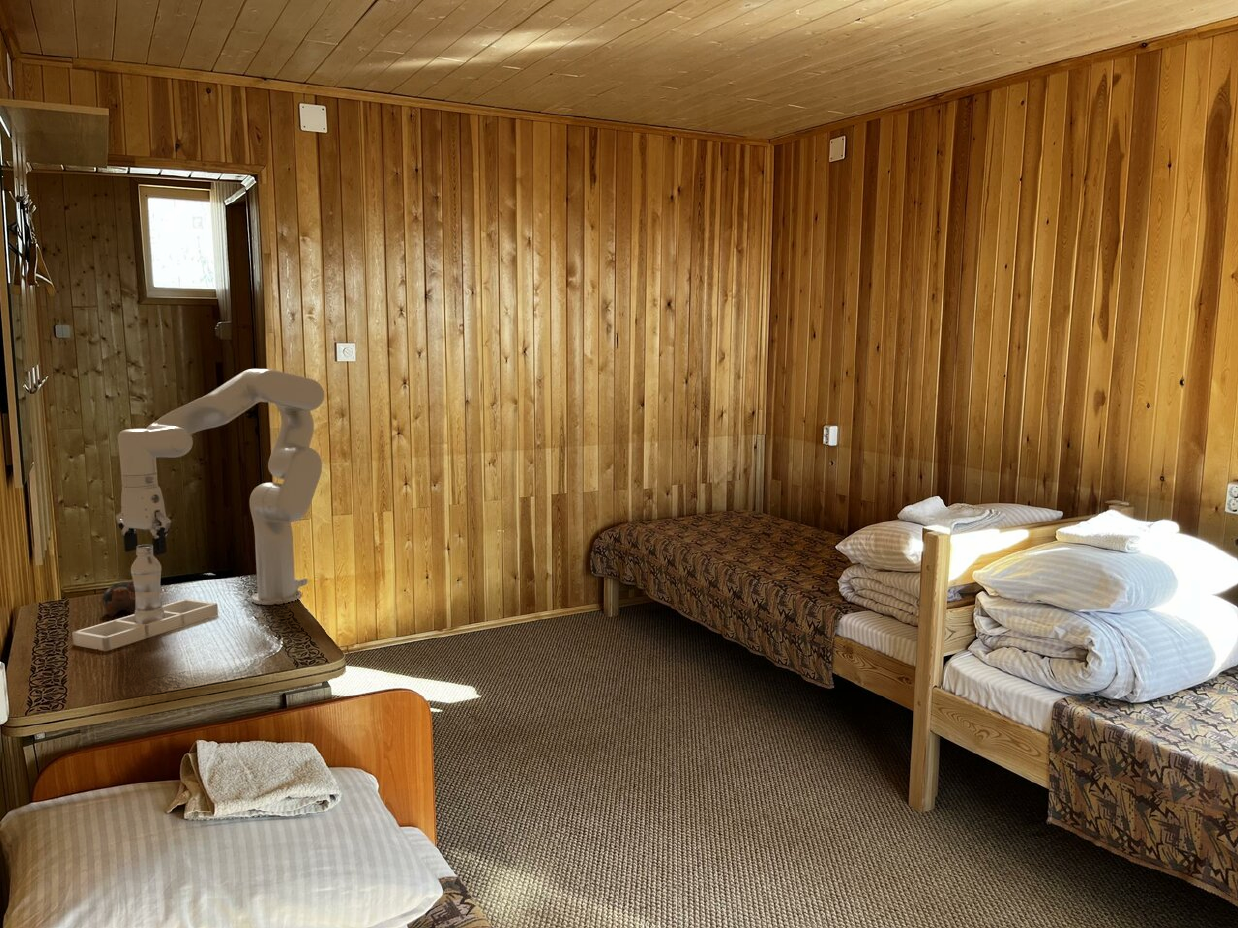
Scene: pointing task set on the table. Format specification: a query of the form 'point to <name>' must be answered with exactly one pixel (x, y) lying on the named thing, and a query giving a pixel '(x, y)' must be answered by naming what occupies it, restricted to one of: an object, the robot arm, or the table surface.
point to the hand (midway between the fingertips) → (145, 552)
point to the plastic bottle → (147, 586)
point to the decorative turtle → (119, 598)
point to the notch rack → (143, 625)
